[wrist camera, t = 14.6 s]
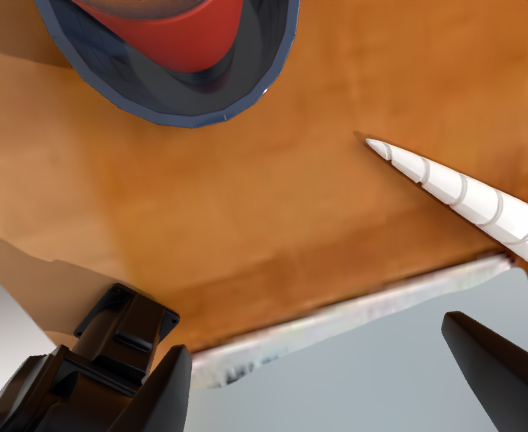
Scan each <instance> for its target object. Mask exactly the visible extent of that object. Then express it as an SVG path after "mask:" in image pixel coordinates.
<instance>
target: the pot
mask: <svg viewBox="0 0 528 432" xmlns="http://www.w3.org/2000/svg"><path fill="white" fill-rule="evenodd" d="M34 1H35V3H36V6H37V8H38V10H39V12H40V14H41V17H42V19H43V21H44V23H45V26H46V28H47V30H48V32H49V34H50V37H51V38H52V40H53V42H54V43H55V44H56V45H57V47H58V48H59V49H60V51H61V52H62V53H63V55H64V56H65V57H66V58H67V60H68V61H69V62H70V64H71V65H72V66H73V67H74V69H75V70H76V71H77V73H78V74H79V75H80V77H81V78H82V79H83V80H84V81H85V82H86V83H88V84H89V85H90V86H91V87H93V88H94V89H95V90H96V91H98V92H99V93H100V94H102V95H103V96H104V97H105V98H107V99H108V100H109V101H110V102H112V103H113V104H114V105H115V106H117V107H118V108H120V109H121V110H124V111H126V112H128V113H131V114H133V115H135V116H138V117H140V118H142V119H145V120H147V121H149V122H152V123H154V124H158V125H165V126H174V127H183V128H199V127H203V126H208V125H212V124H217V123H221V122H226V121H228V120H230V119H232V118H233V117H235V116H236V115H238V114H240V113H241V112H243V111H244V110H246V109H248V108H249V107H251V106H252V105H254V104H255V103H256V102H258V101H259V99H260V98H261V97H262V96H263V95H264V93H265V92H266V91H267V90H268V88H269V87H270V86H271V85H272V84H273V82H274V81H275V80H276V79H277V78H278V76H279V74H280V73H281V71H282V69H283V66H284V64H285V61H286V59H287V57H288V54H289V52H290V49H291V47H292V45H293V42H294V40H295V36H296V31H297V24H298V16H299V9H300V1H301V0H243V4H242V10H241V16H240V22H239V27H238V31H237V35H236V41H235V45H234V48H233V51H232V54H231V55H230V57H229V59H228V61H227V62H226V63H225V65H224V66H223V67H222V68H221V69H220V70H218V71H217V72H216V73H214V74H212V75H211V76H208V77H206V78H201V79H185V78H180V77H178V76H175V75H173V74H171V73H169V72H167V71H166V70H164V69H163V68H162V67H160V66H159V65H157V64H156V63H154V62H153V61H151V60H150V59H148V58H147V57H146V56H144V55H143V54H142V53H140V52H139V51H138V50H136V49H135V48H134V47H132V46H131V45H130V44H128V43H127V42H126V41H124V40H123V39H122V38H120V37H119V36H118V35H116V34H115V33H114V32H113V31H111V30H110V29H109V28H107V27H106V26H105V25H103V24H102V23H101V22H99V21H98V20H97V19H95V18H94V17H93V16H91V15H90V14H89V13H87V12H86V11H85V10H83V9H82V8H81V7H80V6H78V5H77V4H76V3H74V2H73V1H72V0H34Z"/></svg>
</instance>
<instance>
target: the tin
mask: <svg viewBox="0 0 528 432" xmlns="http://www.w3.org/2000/svg"><path fill="white" fill-rule="evenodd" d="M72 1H73V2H74V3H76V4H77V5H78V6H80V7H81V8H82V9H83V10H85V11H86V12H87V13H89V14H90V15H91V16H93V17H94V18H95V19H97V20H98V21H99V22H101V23H102V24H103V25H105V26H106V27H107V28H109V29H110V30H111V31H113V32H114V33H115V34H116V35H118V36H119V37H120V38H122V39H123V40H124V41H126V42H127V43H128V44H130V45H131V46H132V47H134V48H135V49H136V50H138V51H139V52H140V53H142V54H143V55H144V56H146V57H147V58H148V59H150V60H151V61H153V62H154V63H156V64H157V65H159V66H160V67H162V68H163V69H164V70H166V71H167V72H169V73H171V74H173V75H175V76H178V77H180V78H185V79H201V78H206V77H208V76H211V75H212V74H214V73H216V72H217V71H218V70H220V69H221V68H222V67H223V66H224V65H225V63H226V62H227V61H228V59H229V57H230V55H231V54H232V51H233V48H234V45H235V41H236V35H237V31H238V27H239V22H240V16H241V10H242V4H243V0H72Z"/></svg>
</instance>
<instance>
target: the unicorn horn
mask: <svg viewBox="0 0 528 432" xmlns="http://www.w3.org/2000/svg"><path fill="white" fill-rule="evenodd" d="M366 142H367V143H368V144H369V145H370V146H371V147H372V148H373V149H374V150H375V151H376V152H377V153H378V154H380V155H381V156H382V157H383V158H384V159H386V160H390V159H391V160H392V165H393V166H395V167H396V168H397V169H399V170H400V171H401V172H403V173H404V174H405V175H407V176H408V177H409V178H411V179H412V180H413V181H415V182H416V183H418V182H419V181H420V182H421V183H423V184H422V187H423V188H424V189H425V190H427V191H428V192H430V193H431V194H432V195H434V196H435V197H436V198H438V199H439V200H441V201H442V202H443V203H445V204H449V206H450V208H452V209H453V210H455V211H456V212H457V213H459V214H460V215H462V216H463V217H465V218H466V219H467V220H469V221H470V222H472V223H474V224H475V225H476V226H477V227H479V228H480V229H482V230H483V231H485V232H486V233H487V234H489V235H490V236H492V237H493V238H495V239H496V240H498V241H500V243H502V244H503V245H505V246H506V247H508V248H509V249H510V250H512V251H513V252H515V253H516V254H518V255H519V256H521V257H522V258H523V259H525V260H526V261H528V203H526V202H523V201H521V200H519V199H517V198H515V197H513V196H510V195H508V194H506V193H504V192H502V191H500V190H497V189H495V188H492V187H490V186H488V185H486V184H484V183H482V182H480V181H477V180H475V179H473V178H471V177H468V176H466V175H464V174H462V173H459V172H456V171H454V170H452V169H450V168H448V167H445V166H443V165H441V164H438V163H436V162H433V161H431V160H429V159H426V158H424V157H420V156H418V155H416V154H414V153H411V152H409V151H406V150H404V149H401V148H398V147H396V146H393V145H390V144H387V143H384V142H381V141H378V140H374V139H369V138H368V139H366Z"/></svg>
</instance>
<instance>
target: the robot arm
mask: <svg viewBox="0 0 528 432" xmlns="http://www.w3.org/2000/svg"><path fill="white" fill-rule="evenodd" d="M115 289H118V290H119V291H117V290H115ZM173 319H176V320H173ZM179 320H180V316H179V315H178V314H177V313H175V312H173V311H171V310H169V309H167V308H165V307H164V306H162V305H160V304H158V303H156V302H154V301H152V300H150V299H148V298H147V297H145V296H143V295H141V294H139V293H137V292H135V291H133V290H131V289H130V288H128V287H126V286H124V285H122V284H119V283H115V284H113V285H112V286H111V287H110V288H109V290H108V291H107V292H106V293H105V294H104V296H103V297H102V298H101V299H100V300H99V302H98V303H97V304H96V305H95V306H94V308H93V309H92V310H91V311H90V313H89V314H88V315H87V316H86V317H85V319H84V320H83V321H82V322H81V323H80V325H79V326H78V327H77V328H76V330H75V331H74V336H75V337H77V338H79V340H78V342H77V343H76V345H75V346H74V348H73V349H72V351H70V350H69V348H68V347H66V346H64V345H62V344H61V345H59V346H58V347H57V348H56V349H55V350H54V351H53V352H52V353H50V354H48V355H46V354H44V355H39V356H30V357H28V358H27V359H26V360H25V361H24V362H23V363H22V364H21V366H20V367H19V368H18V369H17V371H16V372H15V373H14V374H13V376H12V377H11V378H10V379H9V380H8V382H7V383H6V384H5V386H4V387H3V388H2V389H1V391H0V432H183V430H184V425H185V420H186V414H187V407H188V398H189V389H190V380H191V370H192V358H191V356H190V354H189V352H188V350H187V348H186V346H185V345H184V344H182V345H175V346H173V347H171V349H170V350H169V351H168V353H167V354H166V355H165V356H164V358H163V359H162V360H161V362H160V363H159V364H158V366H157V367H156V368H155V369H154V371H153V372H152V373H151V375H150V376H149V373H150V369H151V366H152V362H153V359H154V356H155V352H156V349H157V345H158V344H159V343H160V342H161V341H162V340H163V339H164V338H165V337H166V336H167V335H168V334H169V333H170V331H171V330H172V329H173V328H174V327H175V326H176V325H177V324H178V323H179ZM441 330H442V334H443V336H444V338H445V340H446V342H447V344H448V346H449V348H450V350H451V352H452V354H453V355H454V358H455V360H456V362H457V363H458V365H459V367H460V369H461V371H462V373H463V375H464V377H465V379H466V380H467V382H468V384H469V386H470V387H471V389H472V390H473V392H474V394H475V395H476V397H477V398H478V400H479V401H480V403H481V405H482V406H483V408H484V409H485V411H486V412H487V414H488V416H489V417H490V419H491V420H492V422H493V423H494V425H495V426H496V428H497V430H498V431H499V432H528V352H527V351H525V350H523V349H522V348H520V347H519V346H517V345H515V344H514V343H512V342H510V341H509V340H507V339H505V338H504V337H502V336H500V335H499V334H497V333H495V332H494V331H492V330H491V329H489V328H487V327H486V326H484V325H482V324H481V323H479V322H477V321H476V320H474V319H472V318H471V317H469V316H467V315H466V314H464V313H462V312H460V311H453V312H447V313H446V314H445V316H444V319H443V323H442V328H441ZM148 376H149V377H148Z"/></svg>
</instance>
